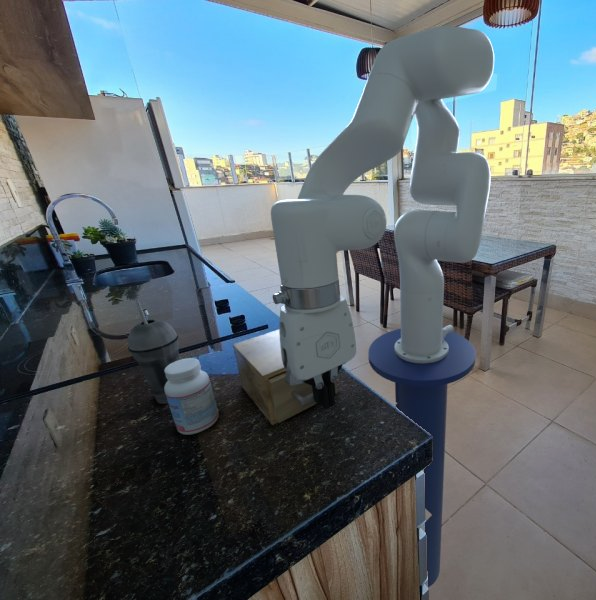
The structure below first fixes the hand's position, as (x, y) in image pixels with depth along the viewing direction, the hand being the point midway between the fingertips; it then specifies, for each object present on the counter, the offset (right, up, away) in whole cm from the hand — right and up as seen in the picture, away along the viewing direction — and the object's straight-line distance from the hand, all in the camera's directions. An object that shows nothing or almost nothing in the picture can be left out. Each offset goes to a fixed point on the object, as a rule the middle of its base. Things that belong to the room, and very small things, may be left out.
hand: (325, 402), depth 50 cm
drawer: (-7, -1, +9) cm, 11 cm away
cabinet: (-10, -1, +12) cm, 15 cm away
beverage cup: (-32, -2, +10) cm, 34 cm away
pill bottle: (-22, -5, +4) cm, 23 cm away
